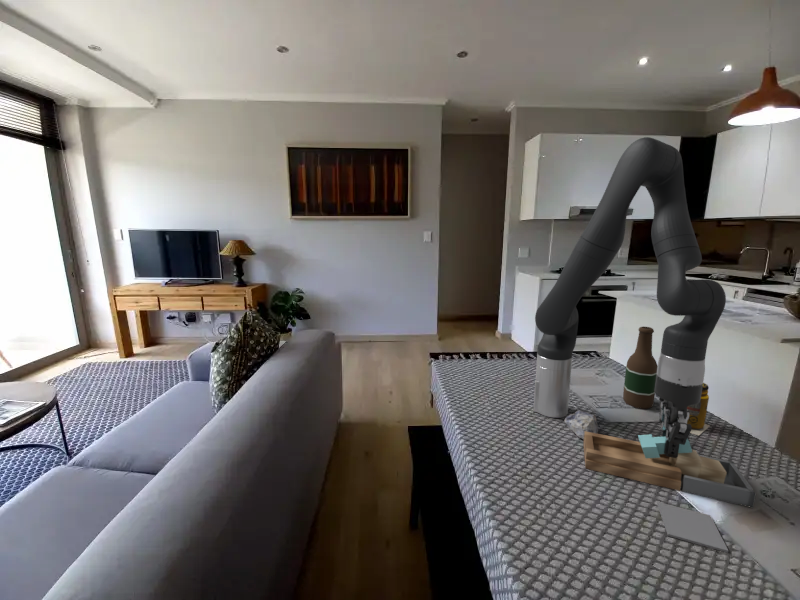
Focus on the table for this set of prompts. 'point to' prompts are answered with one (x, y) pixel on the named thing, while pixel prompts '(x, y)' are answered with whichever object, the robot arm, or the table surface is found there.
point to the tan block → (712, 470)
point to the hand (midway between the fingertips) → (668, 451)
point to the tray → (722, 486)
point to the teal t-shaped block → (659, 446)
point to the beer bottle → (641, 373)
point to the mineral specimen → (581, 423)
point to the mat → (691, 526)
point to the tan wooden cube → (687, 463)
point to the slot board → (628, 461)
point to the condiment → (699, 413)
